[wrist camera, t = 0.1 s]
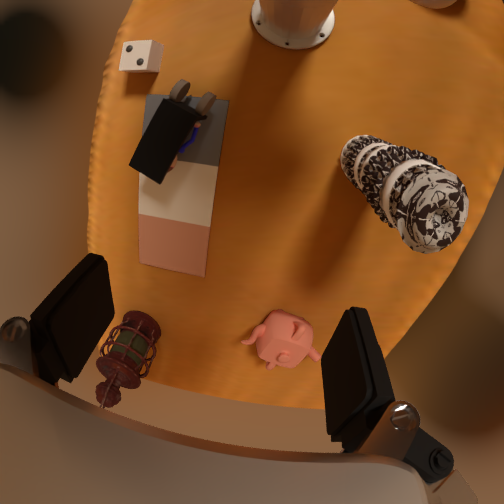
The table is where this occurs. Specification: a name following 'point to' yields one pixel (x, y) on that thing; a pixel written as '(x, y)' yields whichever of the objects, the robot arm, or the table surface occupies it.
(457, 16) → the table surface
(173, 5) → the table surface
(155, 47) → the die
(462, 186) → the decorative candle
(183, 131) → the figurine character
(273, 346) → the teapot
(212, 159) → the game board
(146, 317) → the lantern
